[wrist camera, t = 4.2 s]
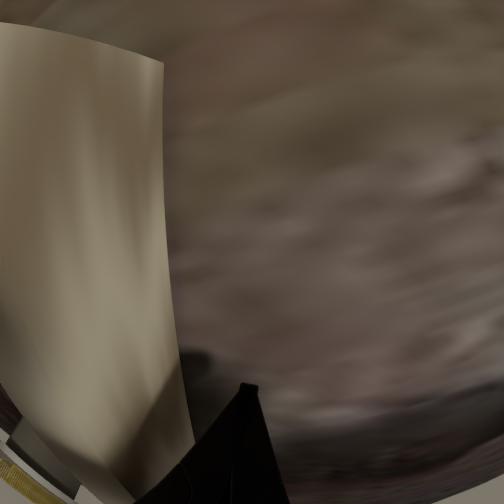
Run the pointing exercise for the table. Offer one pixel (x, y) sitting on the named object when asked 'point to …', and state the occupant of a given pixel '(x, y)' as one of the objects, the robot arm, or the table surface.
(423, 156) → the table surface
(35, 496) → the platform
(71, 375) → the cream wooden bar
